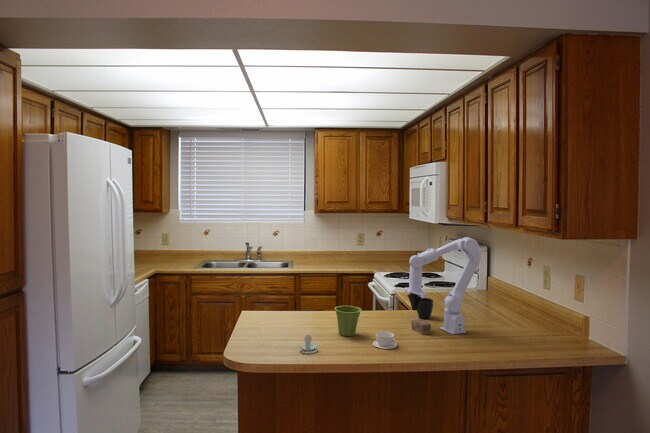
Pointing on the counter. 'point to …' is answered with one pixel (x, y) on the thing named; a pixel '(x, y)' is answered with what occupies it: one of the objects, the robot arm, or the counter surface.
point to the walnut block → (420, 326)
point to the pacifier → (308, 345)
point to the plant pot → (347, 319)
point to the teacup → (385, 340)
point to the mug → (425, 308)
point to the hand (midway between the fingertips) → (414, 309)
